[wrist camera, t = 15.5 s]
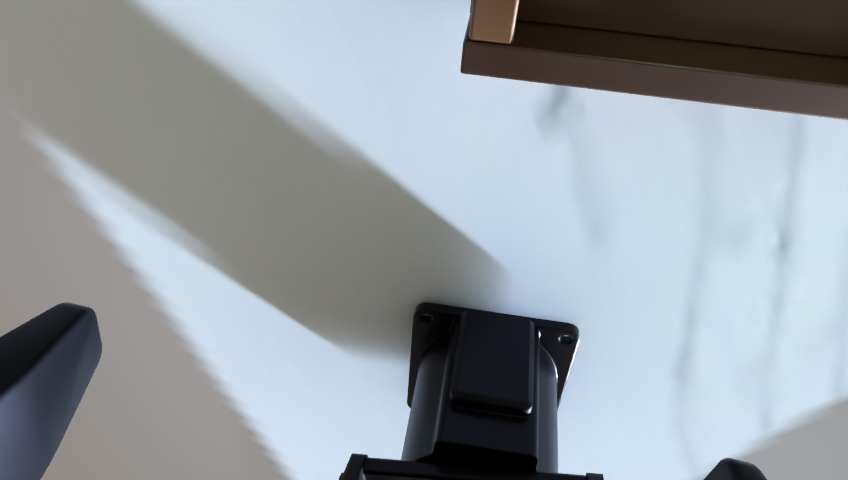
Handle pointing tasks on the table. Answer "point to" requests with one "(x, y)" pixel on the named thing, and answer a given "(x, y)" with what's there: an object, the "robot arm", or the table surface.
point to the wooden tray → (671, 49)
